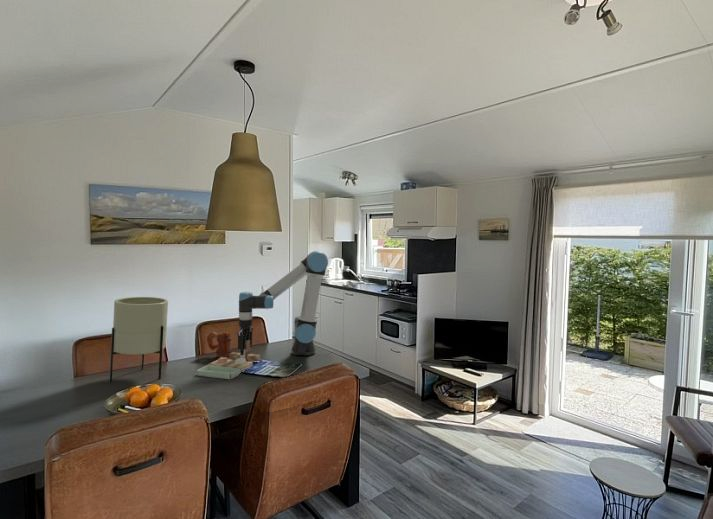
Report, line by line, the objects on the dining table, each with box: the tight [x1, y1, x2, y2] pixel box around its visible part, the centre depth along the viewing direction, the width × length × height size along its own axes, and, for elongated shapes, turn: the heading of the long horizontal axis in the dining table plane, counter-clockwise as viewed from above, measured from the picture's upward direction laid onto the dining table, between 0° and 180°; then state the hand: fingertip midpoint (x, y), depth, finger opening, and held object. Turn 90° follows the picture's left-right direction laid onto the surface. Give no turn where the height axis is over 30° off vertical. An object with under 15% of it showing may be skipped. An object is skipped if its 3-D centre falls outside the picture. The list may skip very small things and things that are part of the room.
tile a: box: [235, 358, 246, 364], centre depth 215 cm, size 4×4×2 cm
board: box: [208, 358, 254, 372], centre depth 215 cm, size 20×11×3 cm, turn 75°
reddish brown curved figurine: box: [206, 330, 232, 358], centre depth 236 cm, size 15×8×15 cm, turn 84°
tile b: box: [217, 357, 229, 363], centre depth 216 cm, size 4×4×2 cm
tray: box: [195, 364, 242, 380], centre depth 204 cm, size 20×10×3 cm, turn 75°
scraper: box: [229, 340, 261, 362], centre depth 228 cm, size 18×4×12 cm, turn 75°
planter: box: [108, 296, 169, 384], centre depth 197 cm, size 23×24×39 cm
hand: (245, 359), depth 229 cm, fingers closed on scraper, 4 cm apart
